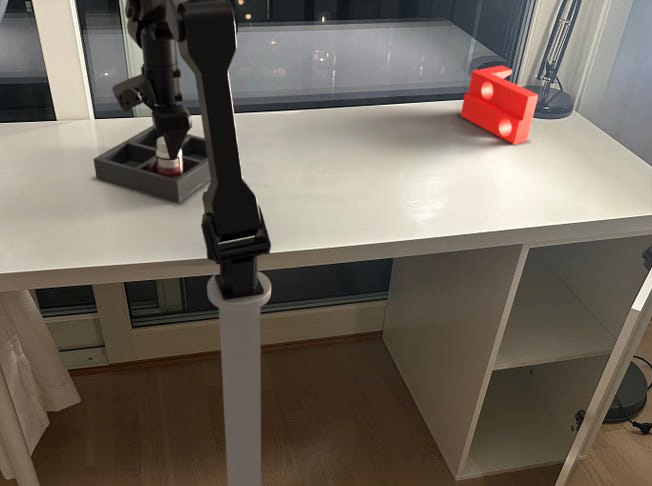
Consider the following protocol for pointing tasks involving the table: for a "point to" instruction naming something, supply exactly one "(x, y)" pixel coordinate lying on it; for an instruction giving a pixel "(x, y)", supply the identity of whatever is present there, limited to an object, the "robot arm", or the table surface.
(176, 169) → the pill bottle
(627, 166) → the table surface
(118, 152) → the organiser
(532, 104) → the bracket
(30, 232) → the table surface
